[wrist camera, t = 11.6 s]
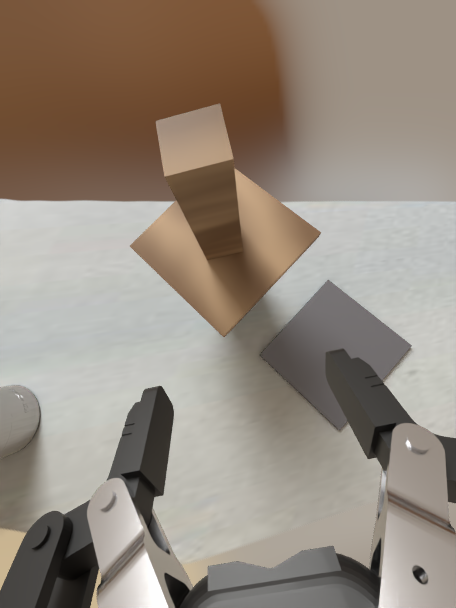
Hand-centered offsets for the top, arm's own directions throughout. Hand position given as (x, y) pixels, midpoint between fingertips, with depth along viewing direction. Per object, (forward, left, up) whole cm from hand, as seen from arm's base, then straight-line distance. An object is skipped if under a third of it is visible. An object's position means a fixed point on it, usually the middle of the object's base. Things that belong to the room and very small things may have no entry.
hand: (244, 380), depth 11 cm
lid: (+7, +9, -8) cm, 14 cm away
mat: (+9, -7, -21) cm, 23 cm away
